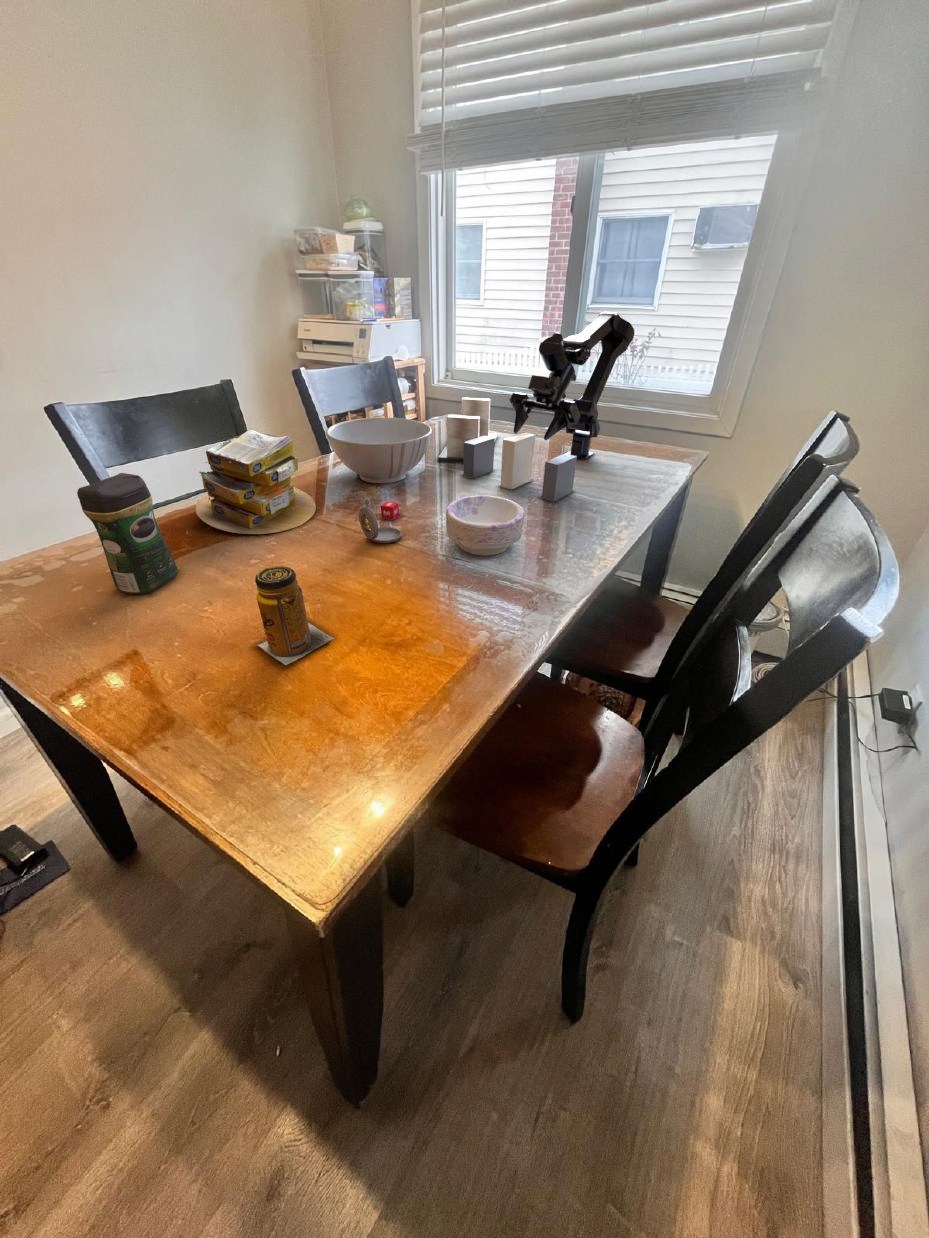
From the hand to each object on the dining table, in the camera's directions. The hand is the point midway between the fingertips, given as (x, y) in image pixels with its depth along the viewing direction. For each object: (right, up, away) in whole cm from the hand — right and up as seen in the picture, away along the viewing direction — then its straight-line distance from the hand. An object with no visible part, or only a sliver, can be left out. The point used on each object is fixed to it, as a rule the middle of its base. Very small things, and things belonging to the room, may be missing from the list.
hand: (529, 436), depth 132 cm
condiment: (-42, -51, -56) cm, 86 cm away
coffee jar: (-72, -41, -41) cm, 93 cm away
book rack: (-15, +7, +29) cm, 34 cm away
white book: (-3, -11, +3) cm, 12 cm away
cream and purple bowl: (-13, -32, -28) cm, 44 cm away
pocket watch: (-34, -31, -26) cm, 53 cm away
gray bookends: (-3, -11, +3) cm, 12 cm away
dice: (-33, -24, -16) cm, 44 cm away
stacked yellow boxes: (-63, -23, -16) cm, 69 cm away
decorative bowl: (-39, -9, +7) cm, 40 cm away
